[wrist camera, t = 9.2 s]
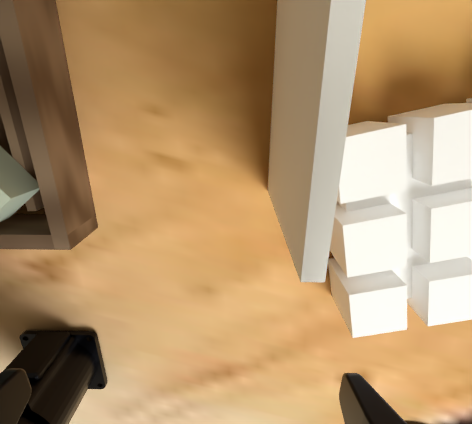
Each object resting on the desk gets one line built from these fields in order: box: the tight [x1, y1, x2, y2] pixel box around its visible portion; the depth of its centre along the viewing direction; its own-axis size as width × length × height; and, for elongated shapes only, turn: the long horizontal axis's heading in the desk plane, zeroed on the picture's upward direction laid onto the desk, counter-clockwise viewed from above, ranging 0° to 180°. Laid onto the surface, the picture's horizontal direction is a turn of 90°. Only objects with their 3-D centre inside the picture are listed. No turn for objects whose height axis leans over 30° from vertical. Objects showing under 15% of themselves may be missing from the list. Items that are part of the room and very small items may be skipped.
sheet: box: [268, 0, 366, 282], centre depth 12 cm, size 12×1×11 cm, turn 0°
